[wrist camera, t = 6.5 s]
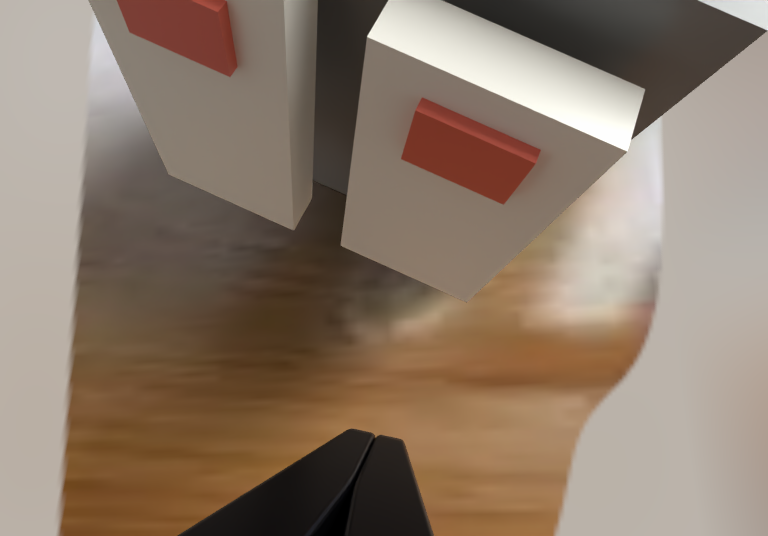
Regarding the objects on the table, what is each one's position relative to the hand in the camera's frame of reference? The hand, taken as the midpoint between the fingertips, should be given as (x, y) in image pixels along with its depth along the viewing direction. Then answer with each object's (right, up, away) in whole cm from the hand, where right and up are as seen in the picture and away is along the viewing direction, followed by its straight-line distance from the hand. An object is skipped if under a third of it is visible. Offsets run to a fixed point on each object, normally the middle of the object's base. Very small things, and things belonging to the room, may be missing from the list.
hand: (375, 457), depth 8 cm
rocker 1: (-4, +5, +7) cm, 10 cm away
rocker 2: (+1, +3, +7) cm, 8 cm away
